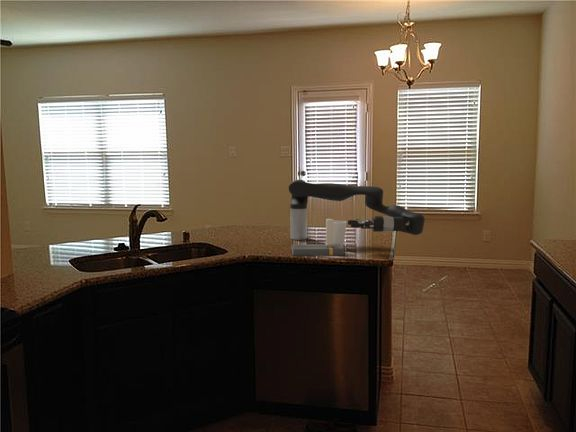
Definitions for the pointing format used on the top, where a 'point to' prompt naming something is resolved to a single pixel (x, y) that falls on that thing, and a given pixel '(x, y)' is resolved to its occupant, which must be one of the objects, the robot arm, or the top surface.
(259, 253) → the top surface
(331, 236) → the fader tab
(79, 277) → the top surface
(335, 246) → the console
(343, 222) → the foam cup
